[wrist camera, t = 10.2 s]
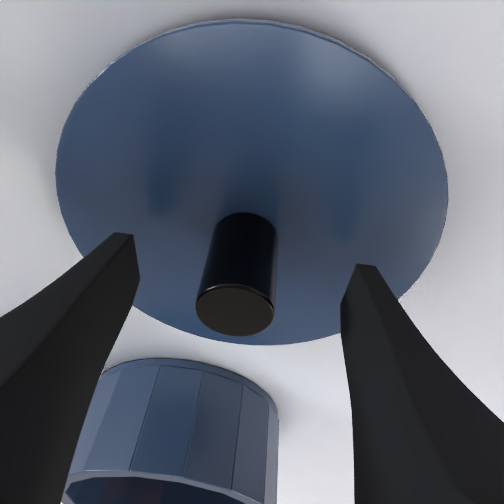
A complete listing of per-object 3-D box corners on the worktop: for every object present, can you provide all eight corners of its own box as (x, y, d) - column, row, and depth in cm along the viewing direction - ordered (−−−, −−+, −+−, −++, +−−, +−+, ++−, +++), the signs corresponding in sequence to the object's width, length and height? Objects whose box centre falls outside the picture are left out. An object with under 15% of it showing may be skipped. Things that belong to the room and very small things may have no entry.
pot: (60, 392, 26) (10, 490, 21) (182, 333, 20) (150, 453, 15) (189, 455, 32) (172, 542, 27) (314, 424, 26) (318, 530, 21)
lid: (2, 188, 14) (-90, 272, 11) (287, -141, 8) (283, -188, 4) (233, 355, 21) (221, 441, 17) (494, 251, 14) (558, 354, 11)
